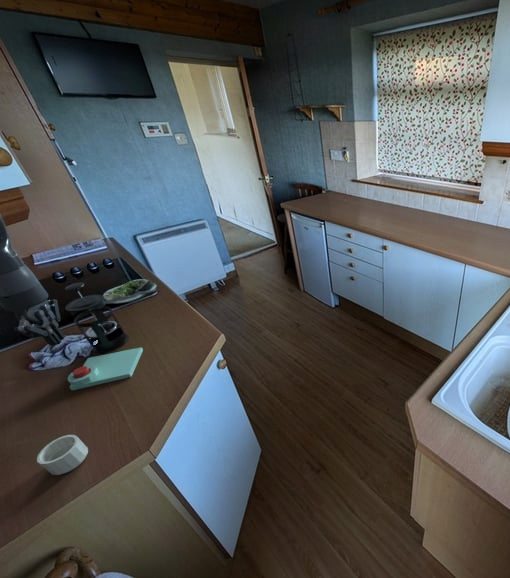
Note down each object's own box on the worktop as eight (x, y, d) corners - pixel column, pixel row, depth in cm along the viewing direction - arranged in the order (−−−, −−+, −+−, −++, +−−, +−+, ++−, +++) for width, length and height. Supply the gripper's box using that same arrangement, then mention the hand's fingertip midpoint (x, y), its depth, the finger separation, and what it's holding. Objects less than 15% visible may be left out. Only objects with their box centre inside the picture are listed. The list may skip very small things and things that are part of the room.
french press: (128, 346, 97) (93, 288, 85) (91, 358, 92) (48, 298, 80) (128, 328, 105) (96, 272, 93) (94, 338, 100) (55, 281, 88)
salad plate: (112, 313, 112) (106, 303, 110) (91, 300, 120) (85, 290, 117) (164, 290, 127) (160, 281, 124) (143, 280, 134) (138, 271, 132)
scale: (69, 391, 82) (63, 384, 80) (88, 361, 91) (83, 354, 90) (131, 377, 86) (126, 370, 85) (143, 350, 96) (139, 343, 94)
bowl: (44, 480, 62) (29, 468, 60) (59, 452, 68) (47, 440, 65) (81, 469, 64) (69, 457, 62) (94, 443, 70) (83, 430, 67)
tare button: (73, 379, 82) (70, 375, 81) (78, 371, 85) (75, 367, 84) (87, 376, 83) (84, 372, 82) (92, 368, 86) (89, 364, 85)
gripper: (12, 275, 72) (53, 329, 82) (-29, 305, 62) (23, 363, 71) (51, 270, 75) (87, 323, 84) (18, 298, 64) (63, 355, 73)
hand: (57, 341), depth 77 cm, fingers closed
